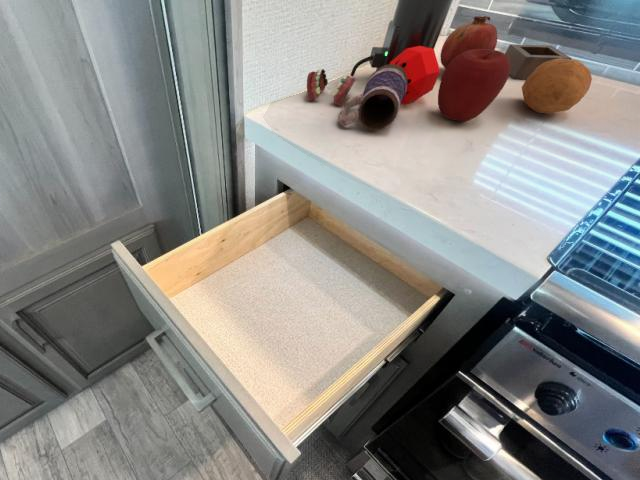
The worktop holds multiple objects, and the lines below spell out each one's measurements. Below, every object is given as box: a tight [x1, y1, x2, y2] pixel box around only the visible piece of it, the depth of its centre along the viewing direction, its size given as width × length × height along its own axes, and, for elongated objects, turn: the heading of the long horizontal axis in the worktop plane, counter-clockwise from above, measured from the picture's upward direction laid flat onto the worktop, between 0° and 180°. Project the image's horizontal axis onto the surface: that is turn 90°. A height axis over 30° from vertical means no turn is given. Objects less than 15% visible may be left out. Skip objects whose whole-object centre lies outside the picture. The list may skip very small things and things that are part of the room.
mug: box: [337, 64, 408, 132], centre depth 56 cm, size 10×7×12 cm
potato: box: [521, 58, 593, 115], centre depth 57 cm, size 9×11×8 cm
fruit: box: [440, 15, 498, 69], centre depth 68 cm, size 11×10×10 cm
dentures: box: [306, 68, 356, 106], centre depth 62 cm, size 6×5×9 cm
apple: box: [437, 49, 510, 122], centre depth 54 cm, size 10×10×10 cm
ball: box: [390, 46, 441, 105], centre depth 60 cm, size 8×8×8 cm
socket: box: [504, 43, 573, 80], centre depth 71 cm, size 9×9×4 cm
